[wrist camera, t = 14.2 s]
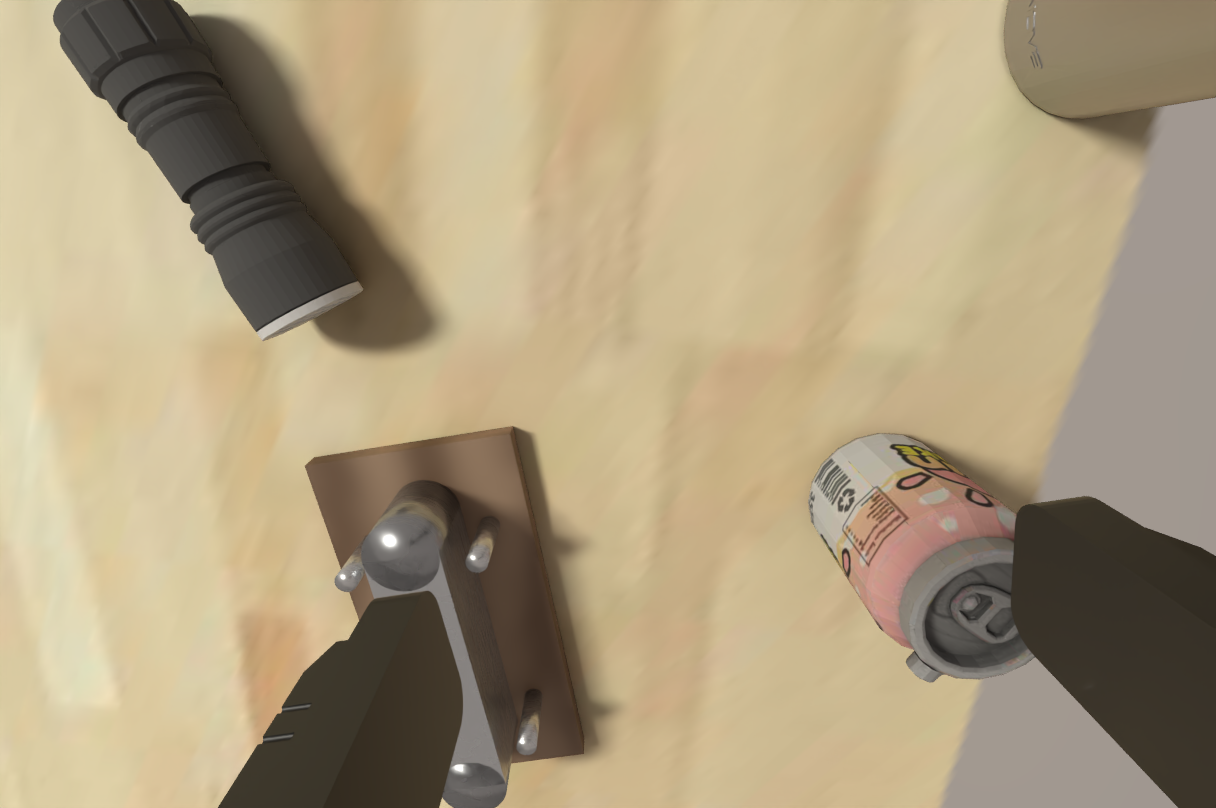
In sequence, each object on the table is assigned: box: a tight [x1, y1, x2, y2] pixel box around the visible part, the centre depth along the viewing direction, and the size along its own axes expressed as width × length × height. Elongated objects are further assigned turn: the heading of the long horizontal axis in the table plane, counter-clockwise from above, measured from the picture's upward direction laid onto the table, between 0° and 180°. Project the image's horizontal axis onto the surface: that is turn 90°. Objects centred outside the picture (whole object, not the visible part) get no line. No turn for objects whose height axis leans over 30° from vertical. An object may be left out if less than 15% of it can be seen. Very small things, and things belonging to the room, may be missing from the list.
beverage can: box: [808, 433, 1035, 682], centre depth 31 cm, size 9×8×12 cm
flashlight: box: [53, 0, 364, 341], centre depth 29 cm, size 15×5×5 cm, turn 27°
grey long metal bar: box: [361, 480, 518, 808], centre depth 36 cm, size 4×20×5 cm, turn 9°
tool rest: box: [305, 426, 584, 763], centre depth 37 cm, size 12×24×5 cm, turn 9°
